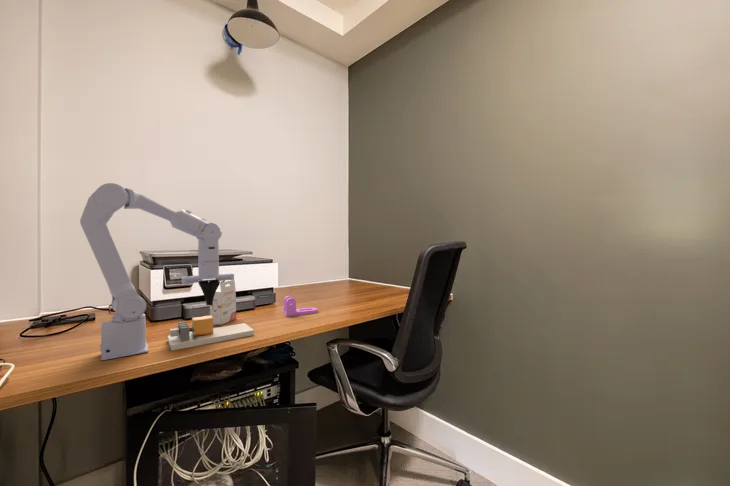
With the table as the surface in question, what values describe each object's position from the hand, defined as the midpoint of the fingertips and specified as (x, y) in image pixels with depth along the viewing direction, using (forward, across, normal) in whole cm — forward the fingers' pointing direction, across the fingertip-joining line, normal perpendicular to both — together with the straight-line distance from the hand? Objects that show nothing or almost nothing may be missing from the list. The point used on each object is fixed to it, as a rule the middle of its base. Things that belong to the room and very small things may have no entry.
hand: (209, 304), depth 97 cm
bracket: (+10, +35, +8) cm, 37 cm away
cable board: (+9, 0, -4) cm, 10 cm away
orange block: (+8, -3, -4) cm, 9 cm away
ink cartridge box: (+10, +7, +14) cm, 18 cm away
